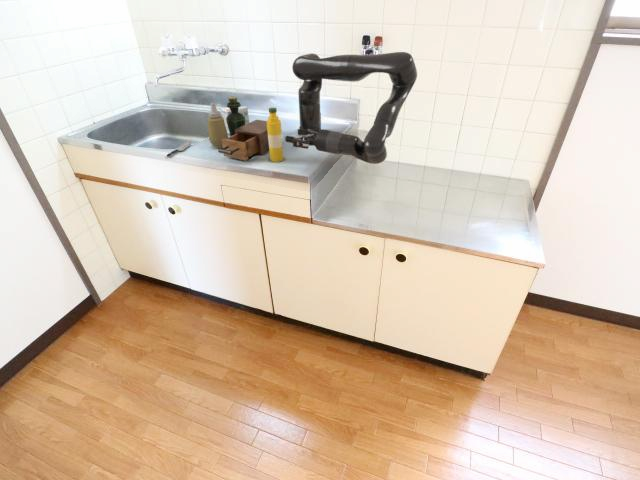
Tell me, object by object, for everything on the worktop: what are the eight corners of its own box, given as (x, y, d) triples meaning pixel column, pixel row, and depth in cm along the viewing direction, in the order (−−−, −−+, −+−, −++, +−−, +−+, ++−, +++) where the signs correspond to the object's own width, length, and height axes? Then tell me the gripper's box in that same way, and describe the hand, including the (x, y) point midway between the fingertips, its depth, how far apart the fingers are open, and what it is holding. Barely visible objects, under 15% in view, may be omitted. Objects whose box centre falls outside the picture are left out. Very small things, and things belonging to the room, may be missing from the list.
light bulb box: (243, 126, 180) (240, 104, 174) (251, 130, 176) (248, 106, 170) (223, 131, 175) (220, 108, 169) (230, 135, 171) (227, 111, 164)
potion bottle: (251, 138, 167) (246, 96, 157) (239, 144, 161) (233, 101, 151) (237, 135, 170) (231, 94, 160) (225, 140, 165) (218, 98, 154)
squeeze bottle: (206, 146, 159) (198, 103, 149) (222, 141, 164) (215, 99, 154) (217, 151, 155) (209, 106, 145) (233, 145, 160) (226, 102, 149)
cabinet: (261, 155, 150) (259, 134, 145) (237, 150, 155) (234, 129, 150) (281, 143, 161) (280, 123, 156) (258, 139, 166) (256, 119, 161)
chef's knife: (196, 142, 165) (190, 141, 165) (196, 139, 164) (190, 138, 164) (173, 158, 149) (166, 157, 150) (172, 155, 149) (165, 154, 149)
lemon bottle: (275, 155, 150) (270, 105, 138) (286, 158, 148) (282, 107, 136) (267, 160, 146) (262, 109, 135) (278, 163, 144) (274, 111, 133)
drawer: (237, 165, 140) (234, 148, 136) (214, 160, 144) (211, 143, 140) (266, 149, 153) (265, 132, 149) (245, 144, 158) (243, 128, 154)
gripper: (321, 159, 128) (282, 151, 134) (340, 145, 138) (302, 138, 145) (321, 137, 124) (280, 130, 130) (340, 125, 134) (301, 119, 140)
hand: (292, 134), depth 137 cm, fingers open, 8 cm apart
